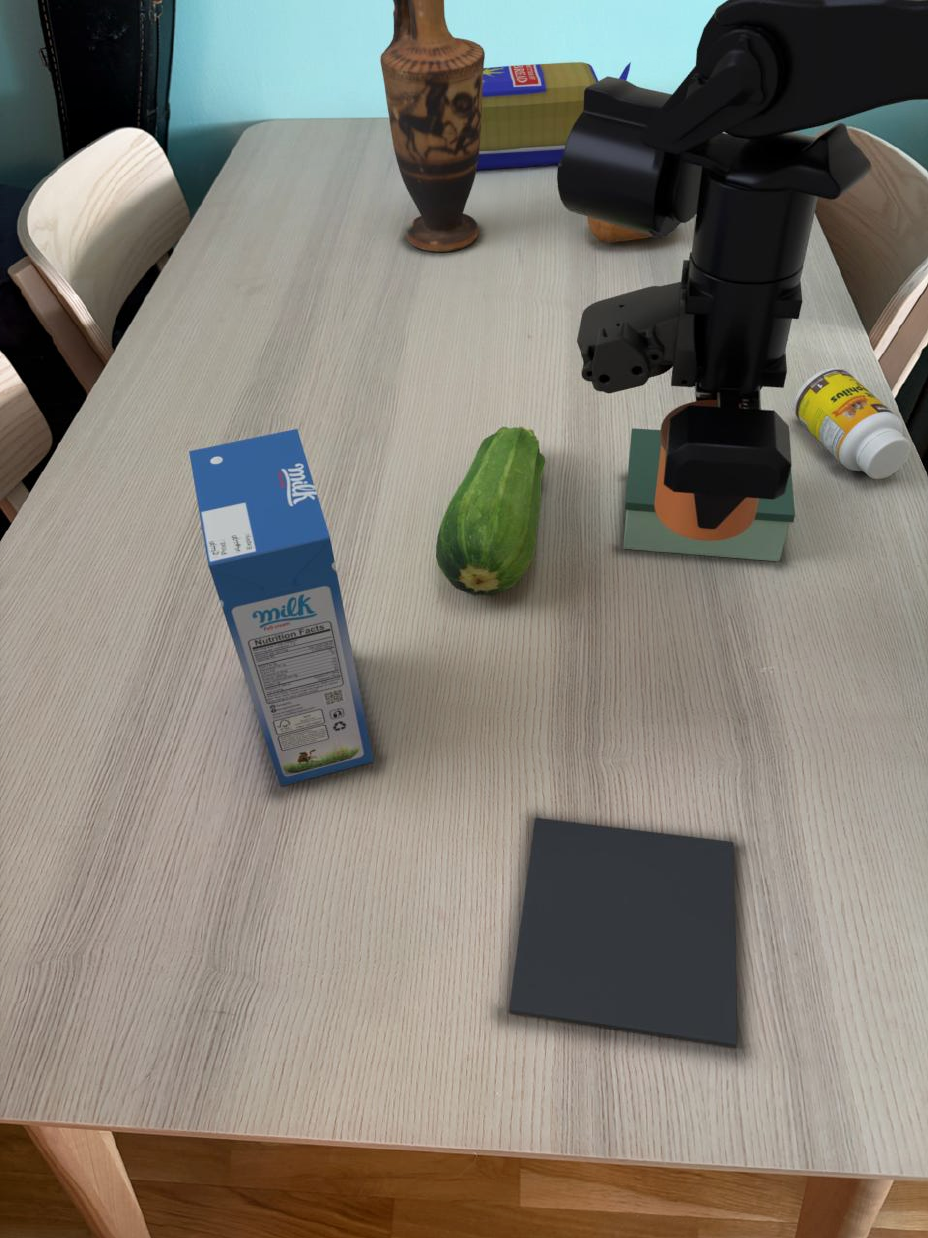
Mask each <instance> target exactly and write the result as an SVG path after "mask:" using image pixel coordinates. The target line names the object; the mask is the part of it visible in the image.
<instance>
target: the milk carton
mask: <svg viewBox="0 0 928 1238" xmlns="http://www.w3.org/2000/svg"><path fill="white" fill-rule="evenodd" d="M298 430H299V429H298V428H293V429H289V430H284V431H279V432H275V433H269V434H266V435H261V436H256V437H251V438H246V439H241V440H235V441H232V442H227V443H222V444H217V445H211V446H208V447H203V448H198V449H193V450H189V451H188V454H189V460H190V466H191V471H192V477H193V478H192V479H193V483H194V489H195V496H196V501H197V508H198V512H199V519H200V525H201V532H202V537H203V542H204V548H205V549H204V550H205V555H206V560H207V566H208V568H209V571H210V572H209V573H210V575H211V579H212V581H213V584H214V587H215V590H216V594H217V596H218V599H219V602H220V605H221V608H222V611H223V612H222V613H223V614H224V618H225V621H226V624H227V627H228V630H229V633H230V637H231V639H232V643H233V645H234V648H235V651H236V655H237V657H238V661H239V664H240V666H241V670H242V672H243V676H244V679H245V682H246V684H247V688H248V691H249V694H250V698H251V701H252V704H253V706H254V709H255V710H254V711H255V713H256V717H257V719H258V722H259V726H260V728H261V731H262V734H263V738H264V740H265V743H266V747H267V750H268V753H269V756H270V759H271V762H272V764H273V768H274V771H275V775H276V777H277V779H278V783H279V786H280V787H284V786H288V785H291V784H292V785H293V784H295V783H299V782H302V781H308V780H310V779H315V778H318V777H321V776H325V775H329V774H333V773H336V772H340V771H344V770H348V769H351V768H355V767H360V766H363V765H366V764H370V763H374V757H373V752H372V747H371V742H370V741H371V740H370V736H369V730H368V726H367V720H366V716H365V710H364V706H363V700H362V699H363V698H362V695H361V689H360V685H359V680H358V674H357V669H356V664H355V659H354V654H353V648H352V643H351V638H350V632H349V628H348V627H349V626H348V623H347V622H348V621H347V618H346V613H345V612H346V611H345V608H344V603H343V596H342V591H341V587H340V582H339V577H338V572H337V571H338V570H337V566H336V560H335V556H334V555H335V554H334V550H333V546H332V541H331V536H330V533H329V528H328V526H327V523H326V519H325V516H324V513H323V509H322V505H321V503H320V500H319V496H318V493H317V490H316V486H315V483H314V480H313V476H312V473H311V469H310V466H309V463H308V460H307V457H306V453H305V450H304V447H303V444H302V440H301V437H300V433H299V431H298Z"/></svg>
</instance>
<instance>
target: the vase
mask: <svg viewBox="0 0 928 1238" xmlns="http://www.w3.org/2000/svg"><path fill="white" fill-rule="evenodd" d="M392 2H393V7H394V9H393V13H392V15H393V16H392V17H393V35H392V39H391V41H390V43H389V45H388V46H387V47H386V48H385V50H384V51H383V52H382V53H381V55H380V61H379V63H380V67H381V72H382V77H383V85H384V92H385V99H386V106H387V114H388V119H389V126H390V133H391V139H392V145H393V150H394V155H395V159H396V162H397V166H398V169H399V173H400V176H401V178H402V181H403V183H404V186H405V188H406V190H407V192H408V194H409V196H410V198H411V199H412V201H413V203H414V205H415V207H416V209H417V211H418V212H419V214H420V216H418V217H415V218H414V219H412V220H413V221H412V222H411V225H410V228H409V229H408V230H407V231H406V240H407V241H408V242H409V243H410V245H411V246H413V247H415V248H417V249H420V250H424V251H428V252H437V253H440V252H443V253H445V252H451V251H457V250H461V249H464V248H466V247H468V246H469V245H471V244H473V242H474V241H475V240H477V239H478V237H479V232H480V231H479V225H478V222H477V221H476V220H475V218H473V216H470V215H469V214H466V213H464V211H465V208H466V204H467V202H468V199H469V197H470V195H471V191H472V189H473V185H474V181H475V179H476V174H477V171H478V170H477V163H478V159H479V149H480V139H481V116H482V90H483V68H485V67H484V66H485V59H486V58H485V57H486V55H485V54H486V52H485V50H484V47H482V46H481V44H479V43H477V42H475V41H472V40H470V39H465V38H460V37H454V36H453V35H452V33H451V32H450V30H449V28H448V25H447V21H446V17H445V0H392Z"/></svg>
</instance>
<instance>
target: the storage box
mask: <svg viewBox="0 0 928 1238" xmlns="http://www.w3.org/2000/svg"><path fill="white" fill-rule="evenodd" d="M660 430H661V429H648V428H631V433H630V443H629V444H630V445H629V454H628V466H627V478H626V479H627V480H626V489H625V499H624V500H625V502H624V510H625V511H626V512H625V523H624V535H623V550H634V551H644V552H645V551H647V552H656V553H657V552H658V553H659V552H660V553H668V554H669V553H671V554H681V555H682V554H683V555H692V556H693V555H694V556H695V555H696V556H706V557H720V558H729V559H730V558H731V559H743V560H744V559H745V560H755V561H756V560H757V561H766V562H767V561H768V562H769V561H770V562H780V561H781V558H782V554H783V549H784V546H785V542H786V538H787V536H788V531H789V528H790V523H794V522H795V518H796V508H795V497H794V496H795V495H794V485H793V474H792V469H791V470H790V475H789V479H788V483H787V487H786V491H785V494H783V495H781V496H780V497H778V498H776V499H774V500H773V499H759V502H758V507H757V511H756V516H755V519H754V521H753V523H752V524H751V526H750V527H749V528H748V529H747V530H746V531H744V532H743V533H741V534H739V535H737V536H735V537H732V538H729V539H725V540H718V541H703V540H696V539H691V538H688V537H684V536H682V535H679V534H677V533H675V532H673V531H672V530H670V529H669V528H667V527H666V526H665V525H664V524H663V523H662V522H661V521H660V519H659V518H658V516H657V514H656V511H655V505H654V503H655V494H656V486H657V477H658V469H659V460H660V452H661V441H660Z"/></svg>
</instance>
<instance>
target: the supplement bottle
mask: <svg viewBox="0 0 928 1238" xmlns="http://www.w3.org/2000/svg"><path fill="white" fill-rule="evenodd" d="M793 411H794V415H795V417H796V419H797V420H798V421H799V422H800V423H801V424H802V425H803V426H804V427H805V428H806V429H807V430H808V431H809V432H810V433H811V434H812V435H813V436H814V437H815V438H816V440H818V441H819V443H820V444H821V445H823V447H824V448H826V449H827V450H828V452H829V453H830V454H832V455H833V457H834V458H835V459H836V460H837V461H839V463H840V464H841V465H843V467H845V468H846V469H848V470H850V471H853V472H864V473H865V474H866V475H867V476H868V477H869V478H871V479H873V480H880V479H885V478H887V477H890V476H892V475H893V474H895V473H896V472H897V471H898V470H900V469H902V467H903V466H904V465H905V463H906V462H907V460H908V459H909V457H910V455H911V451H912V445H911V443H910V441H909V440H908V439H907V438H906V437H904V434H903V431H904V427H903V423H902V421H901V418H900V417H898V416H897V415H896V413H894V412H893V411H892V410H891V409H889V407H887V406H886V405H885V404H884V403H883V402H882V401H881V400H880V399H879V398H877V397H876V396H875V395H874V394H873V393H872V392H871V391H870V390H869V389H867V387H865V386H864V385H863V384H862V383H860V381H858V379H856V378H855V377H854V376H853V374H851V373H849V372H848V371H847V370H845V369H843V368H839V367H830V368H826V369H823V370H821V371H819V372H817V373H815V374H814V375H812V376H811V377H809V379H807V380H806V381H805V383H804V384H803V385H802V386H801V387H800V389H799V390H798V392H797V394H796V396H795V399H794V403H793Z"/></svg>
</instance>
